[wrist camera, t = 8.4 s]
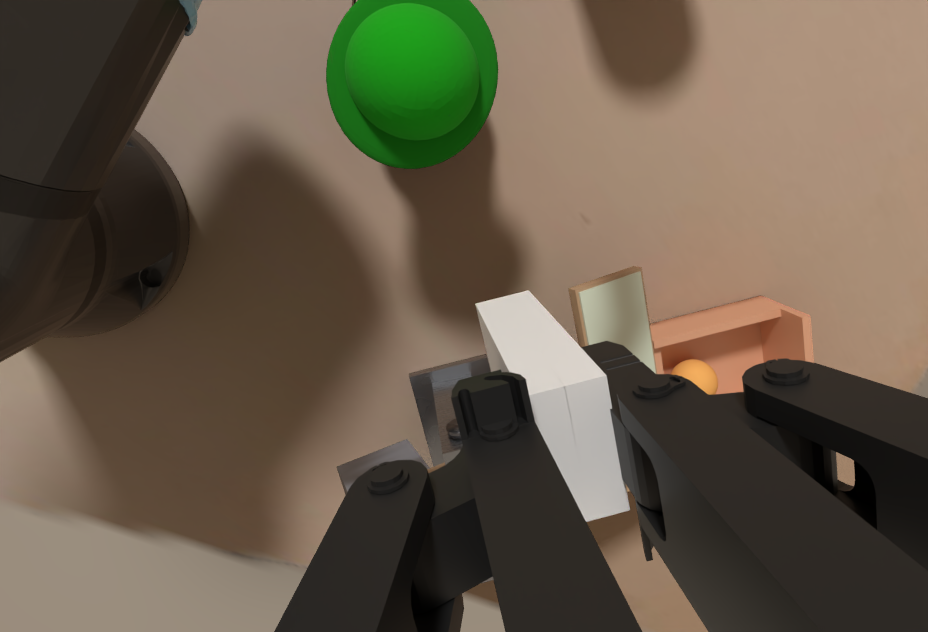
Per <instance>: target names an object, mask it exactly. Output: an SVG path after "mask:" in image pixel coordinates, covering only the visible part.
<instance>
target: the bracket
mask: <svg viewBox="0 0 928 632" xmlns="http://www.w3.org/2000/svg"><path fill="white" fill-rule="evenodd" d="M489 372H491V370H490V366H489V362H488V357H487V355H486V354H484V355H480V356H476V357H473V358H469V359H465V360H461V361H457V362H453V363H449V364H445V365H441V366H437V367H433V368H429V369H425V370H421V371H417V372H413V373H409V378H410V381H411V385H412V389H413V392H414V396H415V400H416V403H417V407H418V411H419V414H420V418H421V422H422V425H423V429H424V433H425V436H426V440H427V444H428V447H429V451H430V455H431V458H432V462H433V466H434V467H435V466H437V465H439V464H442V463H444V462H445V465H446V464H447V463H449V462H450V461H451V460H453V459H454V458H455V457H456V456H457V455H458V454H459V452H460V450H461V448H462V446H463V444H462V440H461V436H460V432H459V428H458V424H457V420H456V416H455V412H454V408H453V404H452V400H451V395H452V389H453V388H454V386H455V385H456V383H457V382H458V380H461V379H465V378H469V377H473V376H477V375H481V374H485V373H489ZM491 580H494V579H493V577H491V578H489V579H487V580H485V581H484V582H488V581H491ZM484 582H482V583H484Z"/></svg>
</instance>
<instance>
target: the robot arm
mask: <svg viewBox="0 0 928 632" xmlns="http://www.w3.org/2000/svg"><path fill="white" fill-rule="evenodd" d="M201 2H202V0H0V362H2V361H4V360H5V359H7V358H9V357H11V356H13V355H14V354H16V353H18V352H20V351H22V350H23V349H25V348H27V347H29V346H31V345H32V344H34V343H36V342H38V341H40V340H41V339H43V338H45V337H82V336H89V335H95V334H99V333H103V332H107V331H110V330H113V329H116V328H118V327H121V326H123V325H125V324H127V323H129V322H131V321H132V320H134V319H136V318H137V317H139V316H140V315H142V314H143V313H145V312H146V311H148V310H149V309H151V308H152V307H153V306H154V305H156V304H157V303H158V302H159V301H160V300H161V299H162V298H163V297H164V296H165V295H166V294H167V293H168V291H169V290H170V289H171V288H172V286H173V285H174V283H175V281H176V280H177V278H178V276H179V274H180V272H181V270H182V267H183V265H184V262H185V258H186V254H187V250H188V244H189V219H188V212H187V207H186V203H185V199H184V196H183V193H182V191H181V188H180V186H179V183H178V181H177V179H176V177H175V175H174V174H173V172H172V170H171V168H170V167H169V165H168V164H167V162H166V161H165V160H164V158H163V157H162V156H161V154H160V153H159V152H158V151H157V150H156V149H155V147H154V146H153V145H152V144H151V143H150V142H149V141H148V140H147V139H145V138H144V137H143V136H142V135H141V134H140V133H138V132H137V131H136V130H135V127H136V125H137V123H138V121H139V119H140V117H141V115H142V114H143V112H144V110H145V108H146V106H147V104H148V102H149V100H150V99H151V97H152V95H153V93H154V91H155V89H156V87H157V85H158V84H159V82H160V80H161V78H162V76H163V74H164V72H165V70H166V69H167V67H168V65H169V63H170V61H171V59H172V57H173V55H174V54H175V52H176V50H177V48H178V46H179V44H180V42H181V40H182V39H183V37H184V35H186V36H189V35H191V34H192V32H193V31H194V29H195V27H196V24H197V10H198V8H199V6H200V4H201ZM475 305H476V309H477V313H478V318H479V322H480V326H481V331H482V335H483V339H484V343H485V348H486V352H487V356H488V361H489V365H490V369H491V372H489V373H485V374H481V375H477V376H473V377H469V378H465V379H461V380H458V382H457V383H456V385H455V386H454V388H453V389H452V395H451V400H452V404H453V408H454V412H455V416H456V420H457V424H458V428H459V432H460V436H461V440H462V444H463V446H462V448H461V450H460V452H459V454H458V455H457V456H456V457H455V458H454V459H453V460H451V461H450V462H449V463H447V464H446V465H444V466H442V467H440V468H439V469H437V470H435V471H432V472H430V473H428V470H427V468H426V467H425V466H424V465H423V464H422V463H421V462H418V461H414V460H396V461H391V462H384V463H381V464H379V465H378V466H377V465H376V466H374V467H372V468H370V469H369V470H368V471H366V472H365V473H364V474H362V475H361V476H359V477H358V478H357V479H356V480H355V481H354V483H353V484H352V485H351V486H350V488H349V490H348V492H347V494H346V496H345V498H344V500H343V502H342V503H341V505H340V507H339V509H338V511H337V513H336V515H335V517H334V519H333V521H332V523H331V524H330V526H329V528H328V530H327V532H326V534H325V536H324V538H323V540H322V542H321V544H320V545H319V547H318V549H317V551H316V553H315V555H314V557H313V559H312V561H311V563H310V565H309V566H308V568H307V570H306V572H305V574H304V576H303V578H302V580H301V582H300V584H299V586H298V587H297V590H296V591H295V593H294V595H293V597H292V599H291V601H290V603H289V605H288V607H287V609H286V610H285V612H284V614H283V616H282V618H281V620H280V622H279V624H278V626H277V628H276V630H275V631H274V632H460V628H461V622H462V616H463V610H464V605H463V597H462V593H464V592H465V591H467V590H469V589H471V588H473V587H475V586H476V585H478V584H480V583H482V582H484V581H485V580H487V579H489V578H491V577H493V579H494V584H495V588H496V592H497V597H498V601H499V606H500V610H501V614H502V619H503V623H504V627H505V631H506V632H642V630H641V628H640V627H639V625H638V623H637V621H636V619H635V617H634V615H633V613H632V611H631V609H630V607H629V605H628V603H627V601H626V599H625V597H624V595H623V593H622V591H621V589H620V587H619V585H618V583H617V581H616V580H615V578H614V576H613V574H612V572H611V570H610V568H609V566H608V564H607V562H606V560H605V558H604V556H603V554H602V552H601V550H600V548H599V546H598V544H597V542H596V540H595V538H594V536H593V534H592V532H591V531H590V529H589V527H588V525H587V523H586V522H588V521H592V520H595V519H599V518H603V517H607V516H610V515H614V514H618V513H622V512H625V511H629V510H630V506H629V501H628V495H627V489H626V485H627V487H628V488H629V490H630V491H631V493H632V494H633V496H634V497H635V501H636V507H637V513H638V519H639V525H640V530H641V536H642V542H643V548H644V553H645V557H646V560H647V561H650V560H653V558H652V552H651V550H652V548H653V546H654V547H655V549H656V550H657V552H658V553H659V555H660V556H661V558H662V560H663V561H664V563H665V564H666V566H667V567H668V569H669V571H670V572H671V574H672V575H673V577H674V578H675V580H676V581H677V583H678V585H679V586H680V588H681V589H682V591H683V592H684V594H685V596H686V597H687V599H688V600H689V602H690V603H691V605H692V607H693V608H694V610H695V611H696V613H697V614H698V616H699V617H700V619H701V621H702V622H703V624H704V625H705V627H706V628H707V630H708V632H928V398H925V397H921V396H918V395H915V394H912V393H909V392H906V391H903V390H899V389H896V388H893V387H890V386H887V385H883V384H880V383H877V382H874V381H871V380H868V379H864V378H861V377H858V376H855V375H852V374H848V373H845V372H842V371H839V370H836V369H833V368H829V367H826V366H823V365H820V364H817V363H812V362H807V361H802V360H790V359H787V358H783V359H778V360H776V359H773V360H768V361H766V362H764V363H761V364H757V365H754V366H753V367H751V368H749V369H747V370H746V371H745V373H744V374H743V376H742V382H743V391H744V392H736V393H725V394H711V395H708V394H707V393H705V392H704V391H703V390H702V389H700V388H699V387H698V386H697V385H696V384H694V383H693V382H692V381H690V380H688V379H686V378H684V377H682V376H678V375H672V374H655V373H654V372H653V371H652V370H651V369H650V368H649V367H647V366H646V365H645V364H644V363H643V362H640V359H638V358H637V357H636V356H635V355H633V353H632V352H630V351H629V350H628V349H627V348H626V347H625V346H624V345H620V344H617V343H613V342H610V341H604V342H600V343H596V344H592V345H588V346H584V347H580V346H579V345H578V344H577V343H576V342H575V340H574V339H573V338H572V337H571V336H570V335H569V334H568V333H567V332H566V331H565V330H564V328H563V327H562V326H561V325H560V324H559V323H558V322H557V321H556V320H555V319H554V318H553V316H552V315H551V314H550V313H549V312H548V311H547V310H546V309H545V308H544V307H543V306H542V304H541V303H540V302H539V301H538V300H537V299H536V298H535V297H534V296H533V295H532V294H531V292H530V291H529V290H528V291H524V292H520V293H516V294H512V295H508V296H504V297H500V298H496V299H492V300H488V301H484V302H480V303H476V304H475ZM836 452H838V453H840V454H842V455H844V456H847V457H849V458H851V459H852V460H854V467H855V485H854V486H850V485H847V484H845V483H843V482H841V481H839V480H838V477H837V462H836Z"/></svg>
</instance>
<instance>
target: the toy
mask: <svg viewBox="0 0 928 632" xmlns="http://www.w3.org/2000/svg"><path fill="white" fill-rule="evenodd" d="M497 80H498V62H497V53H496V48H495V44H494V40H493V38H492V35H491V32H490V30H489V27H488V26H487V24H486V22H485V20H484V18H483V17H482V15H481V14H480V12H479V11H478V10H477V8H476V7H475V6H474V5H473V4H472V3H471V2H470V1H469V0H358V1H357V2H356V0H352V7H351V8H350V9H349V11H348V12H347V13H346V15H345V16H344V18H343V19H342V21H341V22H340V24H339V26H338V28H337V30H336V32H335V34H334V37H333V40H332V43H331V46H330V50H329V54H328V59H327V69H326V82H327V91H328V96H329V100H330V105H331V108H332V111H333V113H334V116H335V118H336V120H337V122H338V124H339V126H340V127H341V129H342V131H343V132H344V134H345V135H346V136H347V137H348V139H349V140H350V141H351V142H352V143H353V144H354V145H355V146H356V147H357V148H358V149H359V150H360V151H361V152H363V153H364V154H366V155H367V156H368V157H370V158H372V159H374V160H376V161H377V162H380V163H382V164H385V165H388V166H392V167H396V168H404V169H418V168H423V167H429V166H433V165H436V164H438V163H441V162H443V161H445V160H447V159H449V158H451V157H453V156H454V155H456V154H457V153H458V152H460V151H461V150H462V149H464V148H465V147H466V146H467V145H468V144H469V143H470V142H471V141H472V140H473V138H474V137H475V136H476V135H477V134H478V132H479V131H480V129H481V128H482V126H483V125H484V123H485V121H486V119H487V117H488V115H489V113H490V110H491V107H492V105H493V101H494V98H495V94H496V88H497Z"/></svg>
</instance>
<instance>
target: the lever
mask: <svg viewBox="0 0 928 632" xmlns="http://www.w3.org/2000/svg"><path fill="white" fill-rule="evenodd" d="M568 289H569V295H570V300H571V305H572V311H573V316H574V321H575V327H576V332H577V338H578V343H579V346H580V347H584V346H588V345H592V344H596V343H600V342H604V341H610V342H613V343H617V344H620V345H624V346H625V347H626V348H627V349H628V350H629V351H630V352H632V353H633V355H635V356H636V357H637V358H638V359H640V362H643V363H644V364H645V365H646V366H647V367H649V368H650V369H651V370H652V371H653V372H654V373H655V374H657V368H656V362H655V355H654V348H653V342H652V335H651V328H650V322H649V315H648V308H647V302H646V295H645V289H644V282H643V275H642V269H641V267H636V266H633V267H630V268H627V269H624V270H621V271H618V272H615V273H612V274H609V275H606V276H603V277H601V278H598V279H595V280H592V281H589V282H586V283H583V284H580V285H577V286H574V287H571V288H568ZM396 460H414V461H418V462H421V463H422V464H423V465H424V466H425V467H426V468H427V470H428V473H430V472H432V471H435V470H437V469H439V468H440V467H442V466H444V465H445V462H444V463H442V464H439V465H437V466H435V467H432V468H429V467H428V465H427V464H426V463H425V461H424V460H423V459H422V458H421V456H420V455H419V454H418V452H417V451H416V450H415V449H414V447H413V446H412V445H411V443H410V442H409V441H408V440H407V439H406V440H403V441H401V442H398V443H396V444H393V445H391V446H388V447H386V448H383V449H381V450H378V451H375V452H373V453H370V454H368V455H365V456H363V457H360V458H358V459H355V460H353V461H350V462H347V463H345V464H342V465H340V466H337V470H338V473H339V476H340V479H341V482H342V485H343V488H344V491H345V495H346V494H347V492H348V490H349V488H350V486H351V485H352V484H353V483H354V481H355V480H356V479H357V478H358V477H359V476H361V475H362V474H364V473H365V472H366V471H368V470H369V469H370V468H372V467H374V466H376V465H377V466H378V465H379V464H381V463H384V462H391V461H396ZM626 489H627V492H629V491H630V490H629V488H628V487H627V485H626Z"/></svg>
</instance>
